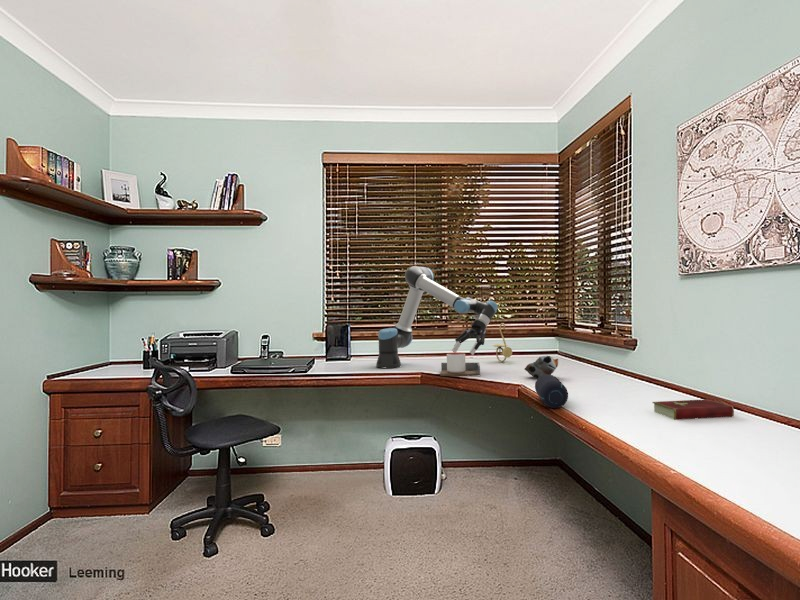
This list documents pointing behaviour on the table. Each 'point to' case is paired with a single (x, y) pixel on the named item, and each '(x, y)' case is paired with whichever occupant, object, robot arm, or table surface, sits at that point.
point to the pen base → (467, 372)
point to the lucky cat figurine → (542, 366)
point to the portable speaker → (551, 391)
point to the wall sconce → (506, 351)
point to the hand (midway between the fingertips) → (462, 352)
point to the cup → (456, 362)
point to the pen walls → (468, 366)
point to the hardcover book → (693, 409)
